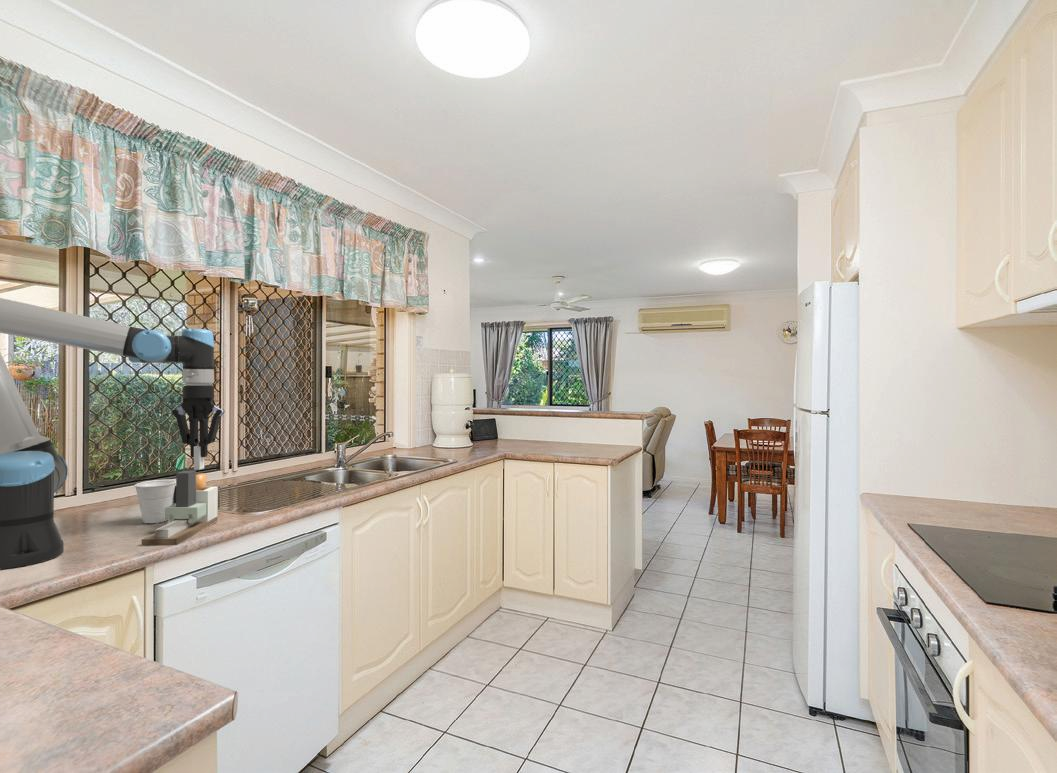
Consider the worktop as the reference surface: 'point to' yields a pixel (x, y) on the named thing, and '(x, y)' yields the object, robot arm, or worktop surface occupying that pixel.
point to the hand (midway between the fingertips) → (199, 468)
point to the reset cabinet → (208, 502)
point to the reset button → (200, 482)
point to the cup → (155, 499)
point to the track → (179, 535)
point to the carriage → (186, 499)
